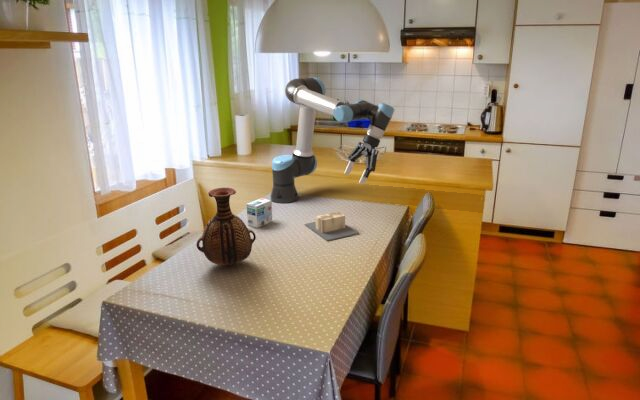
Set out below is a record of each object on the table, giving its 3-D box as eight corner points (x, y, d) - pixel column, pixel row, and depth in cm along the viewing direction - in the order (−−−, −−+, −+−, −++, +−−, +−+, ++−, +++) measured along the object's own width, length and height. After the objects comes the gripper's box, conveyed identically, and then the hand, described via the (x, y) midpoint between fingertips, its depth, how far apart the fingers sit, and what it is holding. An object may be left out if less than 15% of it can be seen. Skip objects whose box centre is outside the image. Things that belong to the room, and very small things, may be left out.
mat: (304, 225, 219) (304, 223, 219) (334, 218, 226) (334, 217, 226) (327, 241, 201) (327, 240, 201) (358, 234, 208) (358, 232, 208)
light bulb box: (257, 228, 217) (256, 206, 213) (247, 225, 221) (245, 203, 217) (273, 221, 225) (272, 200, 221) (263, 218, 229) (261, 197, 225)
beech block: (338, 223, 218) (315, 228, 213) (338, 211, 217) (315, 216, 211) (345, 227, 213) (322, 233, 208) (345, 215, 212) (321, 220, 206)
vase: (258, 254, 189) (254, 183, 180) (254, 275, 172) (248, 197, 163) (205, 256, 189) (197, 184, 179) (195, 277, 172) (186, 199, 162)
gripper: (395, 146, 206) (374, 189, 209) (365, 132, 226) (346, 172, 230) (382, 140, 202) (361, 185, 205) (353, 127, 222) (334, 168, 226)
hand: (353, 178), depth 218 cm, fingers open, 13 cm apart
